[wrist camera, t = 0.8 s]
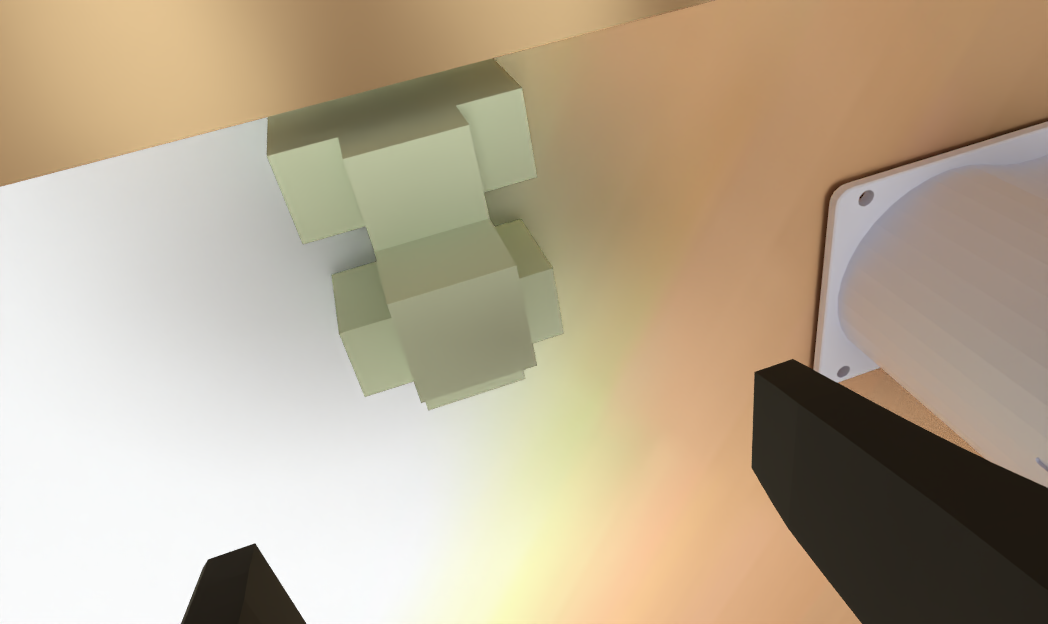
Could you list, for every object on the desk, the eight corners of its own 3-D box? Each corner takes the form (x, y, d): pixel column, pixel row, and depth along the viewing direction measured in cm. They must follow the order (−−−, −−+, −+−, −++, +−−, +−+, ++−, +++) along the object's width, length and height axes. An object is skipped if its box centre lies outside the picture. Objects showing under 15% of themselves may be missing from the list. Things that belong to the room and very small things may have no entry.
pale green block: (488, 54, 17) (575, 141, 12) (532, 279, 20) (611, 414, 16) (268, 111, 16) (265, 229, 11) (354, 333, 20) (380, 492, 15)
